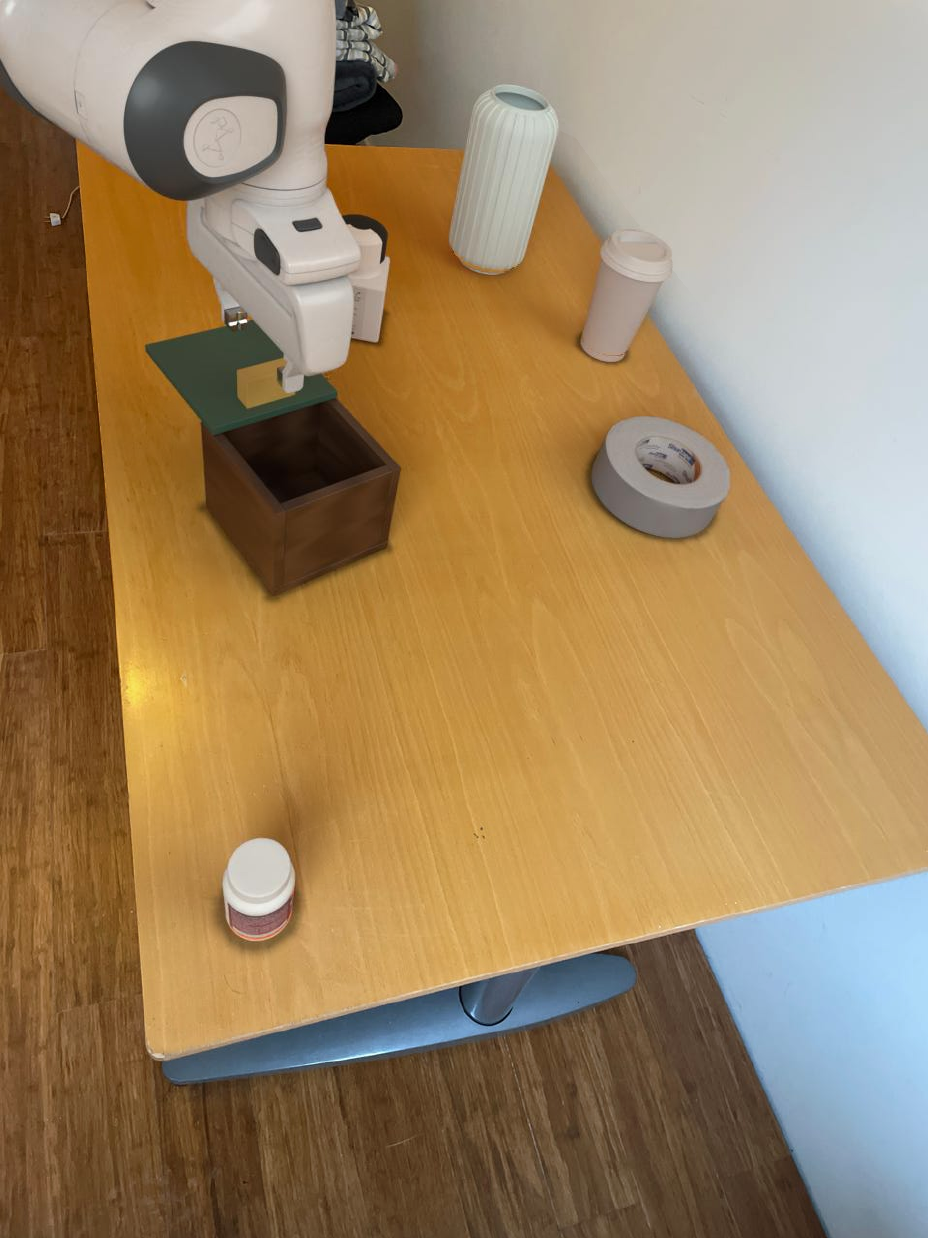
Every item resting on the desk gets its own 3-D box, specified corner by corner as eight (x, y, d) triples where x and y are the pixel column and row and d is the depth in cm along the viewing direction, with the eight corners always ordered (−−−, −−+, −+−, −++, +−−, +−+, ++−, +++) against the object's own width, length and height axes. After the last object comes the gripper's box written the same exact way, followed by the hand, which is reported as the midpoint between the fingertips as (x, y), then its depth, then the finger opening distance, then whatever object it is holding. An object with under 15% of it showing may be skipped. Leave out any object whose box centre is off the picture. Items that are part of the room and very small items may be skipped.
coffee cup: (634, 336, 117) (675, 235, 106) (636, 375, 111) (680, 273, 100) (569, 320, 116) (604, 217, 105) (569, 359, 110) (605, 254, 99)
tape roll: (727, 485, 101) (747, 454, 97) (692, 559, 91) (711, 528, 87) (616, 430, 103) (631, 397, 99) (570, 496, 93) (584, 463, 89)
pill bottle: (304, 920, 59) (310, 879, 53) (242, 955, 57) (241, 917, 51) (274, 864, 61) (276, 819, 55) (214, 897, 59) (208, 853, 53)
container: (324, 299, 107) (332, 200, 97) (383, 310, 108) (396, 214, 98) (316, 332, 103) (323, 232, 92) (377, 344, 104) (390, 247, 94)
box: (273, 596, 76) (275, 514, 68) (206, 507, 81) (200, 421, 73) (386, 548, 83) (401, 467, 74) (317, 468, 88) (324, 384, 79)
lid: (212, 435, 72) (210, 400, 69) (145, 351, 77) (141, 316, 74) (337, 397, 78) (340, 364, 76) (267, 322, 83) (268, 288, 81)
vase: (430, 256, 119) (460, 89, 102) (470, 231, 126) (504, 70, 109) (497, 291, 117) (538, 126, 100) (533, 263, 124) (578, 104, 107)
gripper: (160, 138, 64) (171, 298, 74) (300, 278, 56) (290, 434, 67) (234, 131, 67) (234, 285, 78) (375, 263, 59) (354, 414, 70)
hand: (261, 355), depth 72 cm, fingers open, 8 cm apart
